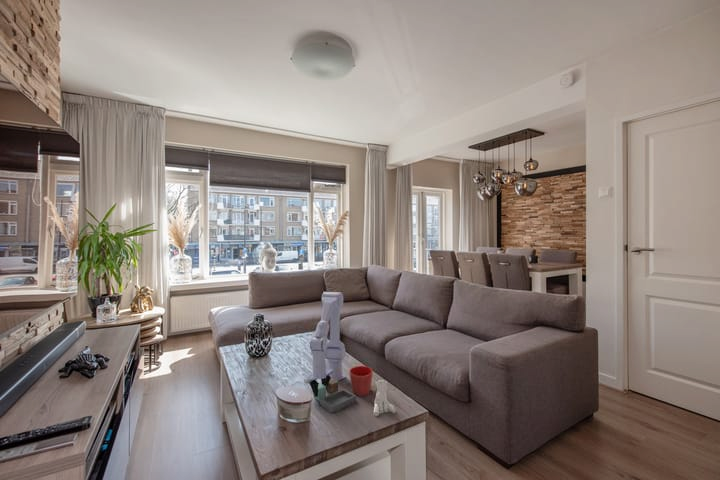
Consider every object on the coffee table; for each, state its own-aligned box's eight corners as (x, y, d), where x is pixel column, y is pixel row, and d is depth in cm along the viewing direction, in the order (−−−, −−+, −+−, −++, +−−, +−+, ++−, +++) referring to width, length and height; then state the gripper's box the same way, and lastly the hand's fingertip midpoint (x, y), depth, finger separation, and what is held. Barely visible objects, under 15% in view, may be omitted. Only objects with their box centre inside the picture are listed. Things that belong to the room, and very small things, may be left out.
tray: (319, 404, 135) (319, 398, 135) (343, 394, 143) (343, 388, 143) (332, 413, 128) (332, 407, 128) (356, 401, 137) (356, 395, 137)
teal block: (313, 397, 141) (313, 386, 141) (321, 394, 144) (320, 383, 144) (318, 400, 138) (318, 389, 138) (326, 397, 141) (326, 386, 141)
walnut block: (326, 392, 146) (326, 381, 146) (333, 389, 148) (333, 378, 148) (331, 395, 143) (331, 384, 143) (338, 392, 145) (338, 381, 145)
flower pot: (353, 399, 139) (352, 377, 139) (347, 387, 149) (347, 367, 149) (376, 395, 142) (375, 373, 141) (368, 384, 152) (368, 364, 152)
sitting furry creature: (374, 417, 125) (373, 387, 124) (367, 406, 133) (367, 378, 133) (396, 413, 127) (395, 383, 127) (388, 402, 135) (387, 374, 135)
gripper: (310, 371, 133) (311, 403, 133) (337, 362, 142) (338, 391, 143) (301, 366, 138) (302, 397, 138) (328, 357, 148) (329, 386, 148)
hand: (319, 394), depth 141 cm, fingers closed on teal block, 4 cm apart
